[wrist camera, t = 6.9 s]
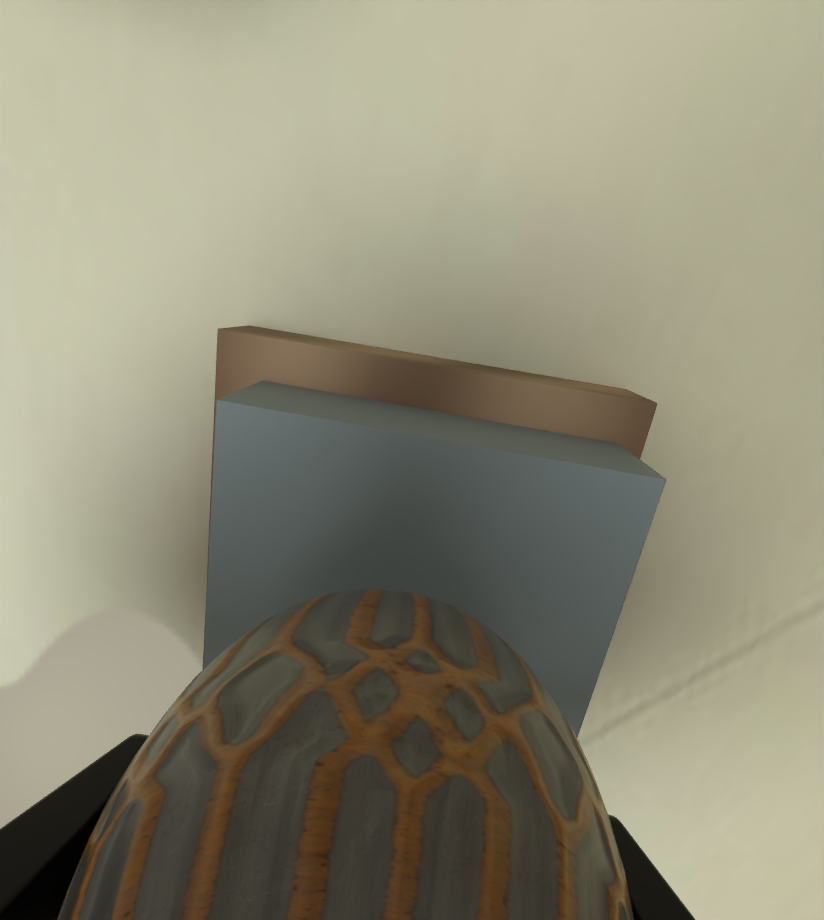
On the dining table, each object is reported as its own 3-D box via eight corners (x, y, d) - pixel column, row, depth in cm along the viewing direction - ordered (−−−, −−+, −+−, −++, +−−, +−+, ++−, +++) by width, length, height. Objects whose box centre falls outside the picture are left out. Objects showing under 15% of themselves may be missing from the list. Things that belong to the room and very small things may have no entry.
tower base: (618, 386, 16) (657, 403, 13) (533, 682, 20) (549, 746, 17) (256, 324, 16) (217, 329, 13) (236, 632, 20) (202, 687, 17)
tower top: (618, 443, 14) (666, 479, 11) (532, 725, 17) (551, 811, 14) (262, 380, 14) (217, 400, 11) (239, 674, 17) (198, 750, 14)
